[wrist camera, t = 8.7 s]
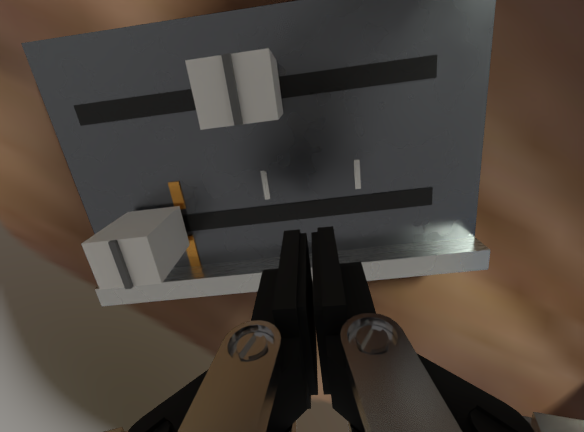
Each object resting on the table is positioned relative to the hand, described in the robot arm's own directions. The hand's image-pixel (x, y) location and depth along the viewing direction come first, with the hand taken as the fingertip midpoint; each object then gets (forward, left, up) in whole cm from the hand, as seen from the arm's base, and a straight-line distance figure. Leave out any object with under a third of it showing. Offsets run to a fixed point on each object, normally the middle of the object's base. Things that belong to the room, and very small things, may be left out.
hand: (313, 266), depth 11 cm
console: (+2, -2, -9) cm, 10 cm away
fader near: (+2, -6, -7) cm, 9 cm away
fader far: (+9, +1, -7) cm, 11 cm away
